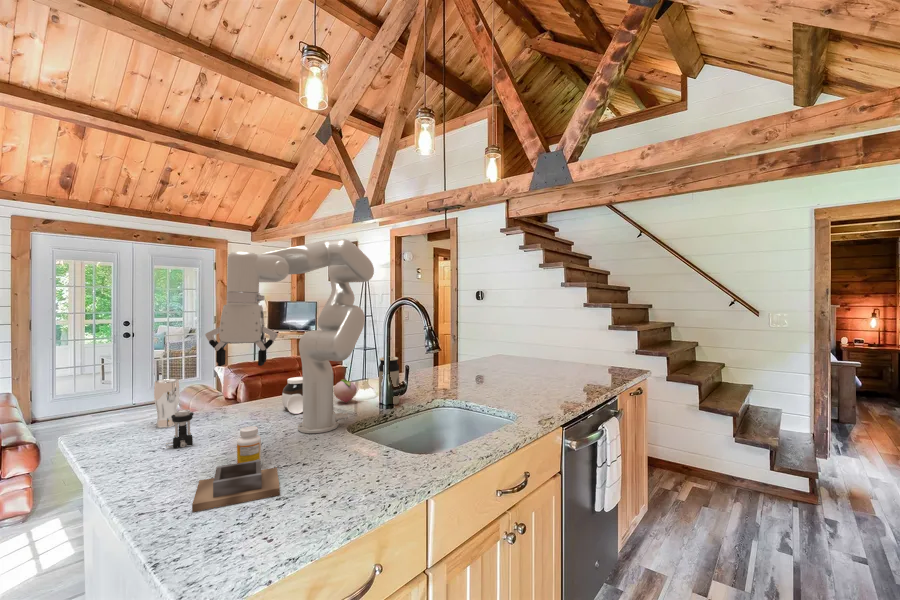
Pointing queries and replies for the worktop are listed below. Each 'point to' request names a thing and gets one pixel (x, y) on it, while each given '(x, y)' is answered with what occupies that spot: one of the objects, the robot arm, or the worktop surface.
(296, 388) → the spread jar
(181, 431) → the push button
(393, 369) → the travel mug
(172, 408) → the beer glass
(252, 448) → the supplement bottle
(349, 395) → the decorative fruit
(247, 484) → the collar board
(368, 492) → the worktop surface
